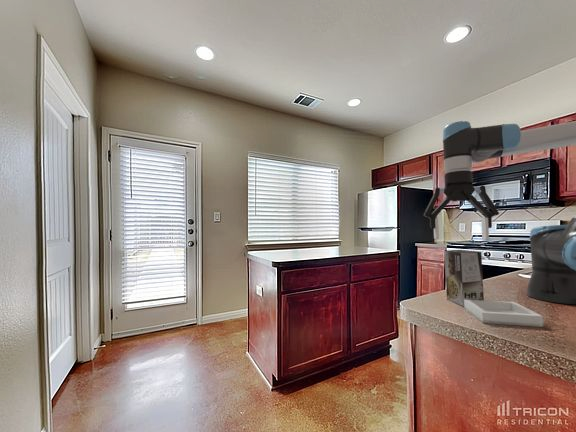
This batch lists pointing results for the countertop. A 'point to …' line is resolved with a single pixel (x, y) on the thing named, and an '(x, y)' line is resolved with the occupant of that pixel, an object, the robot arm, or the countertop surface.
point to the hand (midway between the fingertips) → (460, 239)
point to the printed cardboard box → (463, 275)
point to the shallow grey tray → (503, 313)
